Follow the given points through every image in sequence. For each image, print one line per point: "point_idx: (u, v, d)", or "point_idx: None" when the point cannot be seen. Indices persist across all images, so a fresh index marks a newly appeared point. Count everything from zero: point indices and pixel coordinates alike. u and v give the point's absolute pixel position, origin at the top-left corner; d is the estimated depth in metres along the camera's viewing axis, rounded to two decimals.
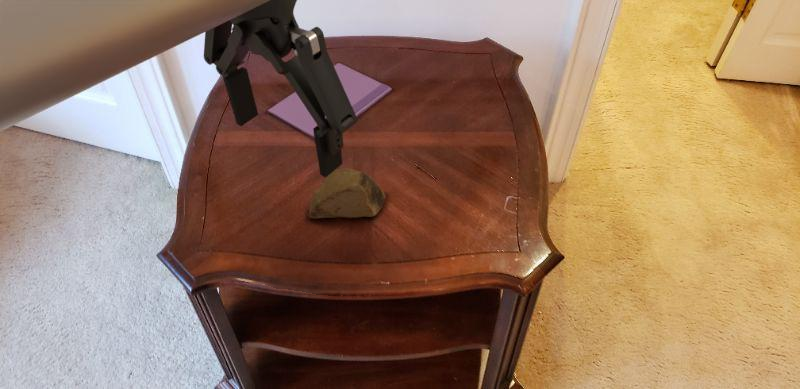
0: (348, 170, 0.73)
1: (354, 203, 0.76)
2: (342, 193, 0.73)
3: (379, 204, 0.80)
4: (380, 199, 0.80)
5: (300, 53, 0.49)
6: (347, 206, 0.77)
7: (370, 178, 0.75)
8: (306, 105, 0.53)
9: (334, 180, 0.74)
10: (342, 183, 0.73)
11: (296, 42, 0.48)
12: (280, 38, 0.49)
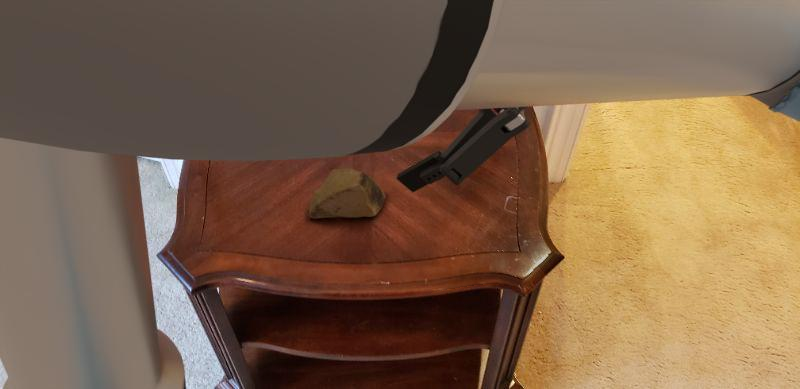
0: (348, 170, 0.73)
1: (354, 203, 0.76)
2: (342, 193, 0.73)
3: (379, 204, 0.80)
4: (380, 199, 0.80)
5: (502, 114, 0.54)
6: (347, 206, 0.77)
7: (370, 178, 0.75)
8: (458, 137, 0.58)
9: (334, 180, 0.74)
10: (342, 183, 0.73)
11: (511, 107, 0.54)
12: None
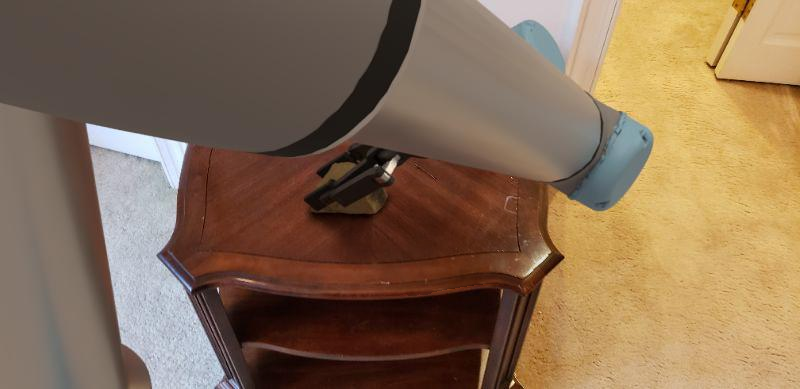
0: (348, 164, 0.73)
1: None
2: None
3: (380, 202, 0.80)
4: (381, 197, 0.80)
5: (373, 169, 0.65)
6: None
7: None
8: (348, 172, 0.71)
9: (334, 173, 0.75)
10: None
11: (378, 167, 0.64)
12: (388, 152, 0.65)
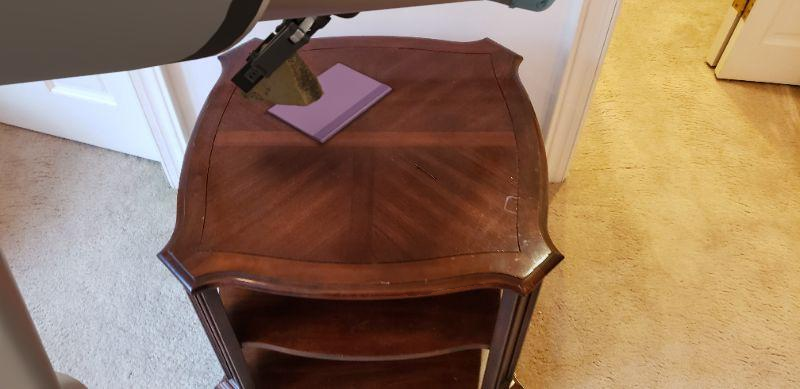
0: None
1: (281, 83, 0.74)
2: None
3: (313, 96, 0.77)
4: (314, 90, 0.77)
5: (288, 27, 0.62)
6: (276, 88, 0.75)
7: (300, 57, 0.73)
8: (270, 41, 0.68)
9: None
10: None
11: (292, 23, 0.61)
12: None
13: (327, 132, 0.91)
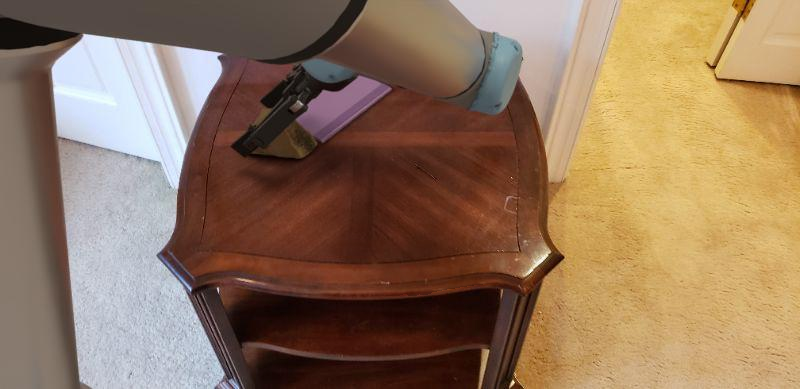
0: None
1: (279, 142, 0.85)
2: None
3: (307, 149, 0.88)
4: (308, 144, 0.88)
5: (288, 99, 0.72)
6: (274, 145, 0.86)
7: (294, 120, 0.83)
8: None
9: (262, 118, 0.83)
10: None
11: (292, 95, 0.71)
12: (299, 85, 0.73)
13: (327, 132, 0.91)
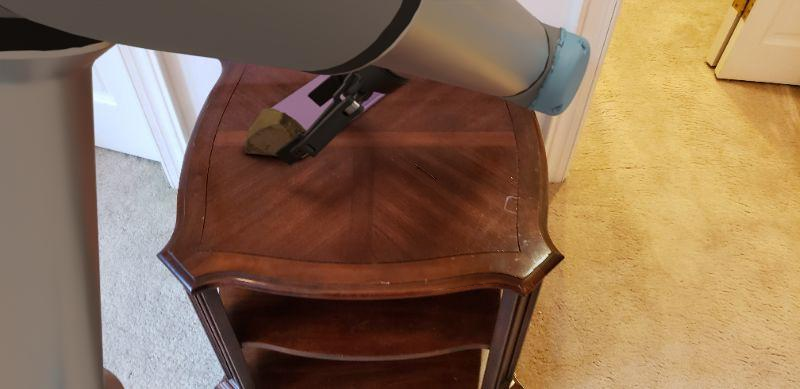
0: (272, 110, 0.81)
1: (279, 142, 0.85)
2: (266, 130, 0.82)
3: None
4: None
5: (343, 101, 0.70)
6: (274, 145, 0.86)
7: (294, 120, 0.83)
8: (316, 120, 0.74)
9: (262, 118, 0.83)
10: (266, 121, 0.82)
11: (348, 96, 0.69)
12: (351, 88, 0.71)
13: None
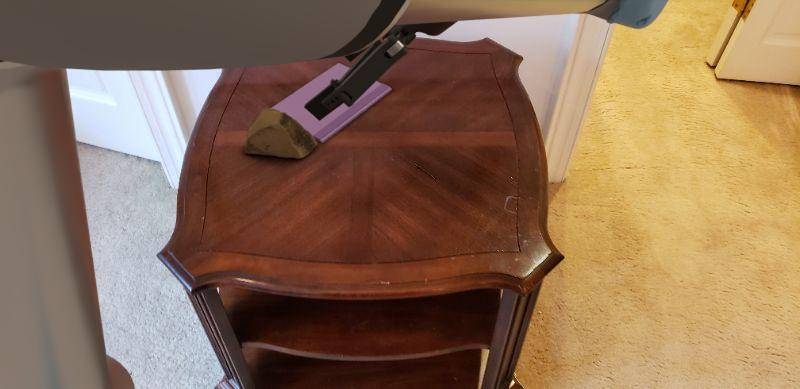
0: (272, 110, 0.81)
1: (279, 142, 0.85)
2: (266, 130, 0.82)
3: (307, 149, 0.88)
4: (308, 144, 0.88)
5: (385, 41, 0.62)
6: (274, 145, 0.86)
7: (294, 120, 0.83)
8: (352, 66, 0.66)
9: (262, 118, 0.83)
10: (266, 121, 0.82)
11: (391, 35, 0.61)
12: (394, 27, 0.63)
13: (327, 132, 0.91)
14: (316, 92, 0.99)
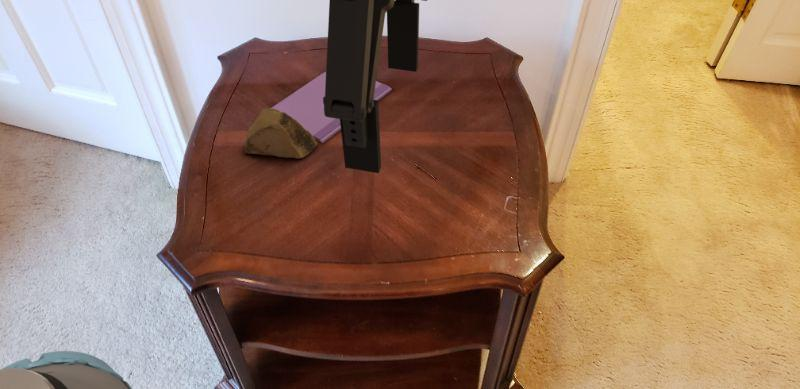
0: (272, 110, 0.81)
1: (279, 142, 0.85)
2: (266, 129, 0.82)
3: (307, 149, 0.88)
4: (308, 144, 0.88)
5: None
6: (274, 145, 0.86)
7: (294, 120, 0.83)
8: None
9: (262, 118, 0.83)
10: (266, 121, 0.82)
11: None
12: None
13: (327, 132, 0.91)
14: (316, 92, 0.99)
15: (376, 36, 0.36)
